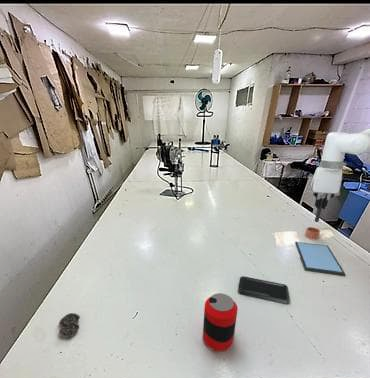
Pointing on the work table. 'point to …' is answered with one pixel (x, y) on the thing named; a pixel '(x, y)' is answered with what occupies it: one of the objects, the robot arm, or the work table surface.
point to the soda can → (219, 322)
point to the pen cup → (312, 233)
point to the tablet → (318, 259)
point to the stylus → (319, 208)
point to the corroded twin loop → (69, 325)
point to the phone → (263, 289)
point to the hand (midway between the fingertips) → (320, 207)
